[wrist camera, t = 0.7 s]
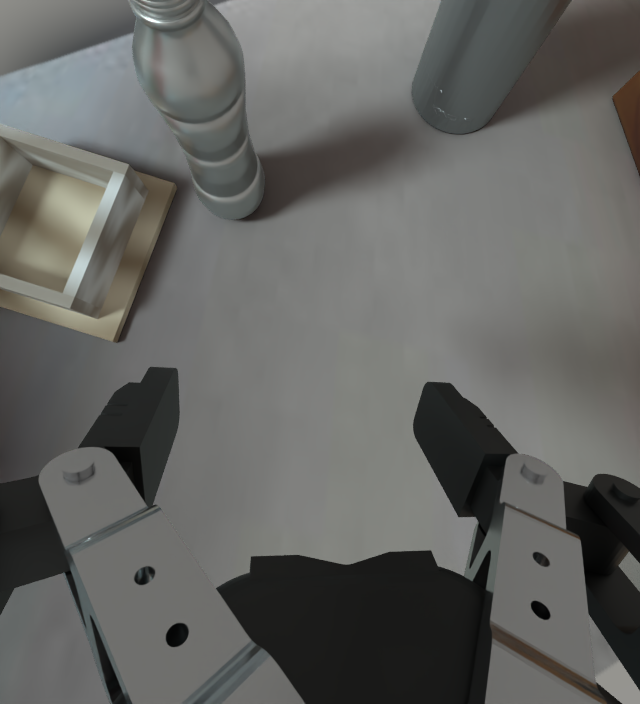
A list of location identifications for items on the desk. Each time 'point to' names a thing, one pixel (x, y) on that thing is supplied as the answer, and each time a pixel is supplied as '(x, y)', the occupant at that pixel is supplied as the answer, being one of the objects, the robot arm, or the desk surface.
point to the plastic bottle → (200, 98)
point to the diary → (630, 114)
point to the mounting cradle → (74, 232)
